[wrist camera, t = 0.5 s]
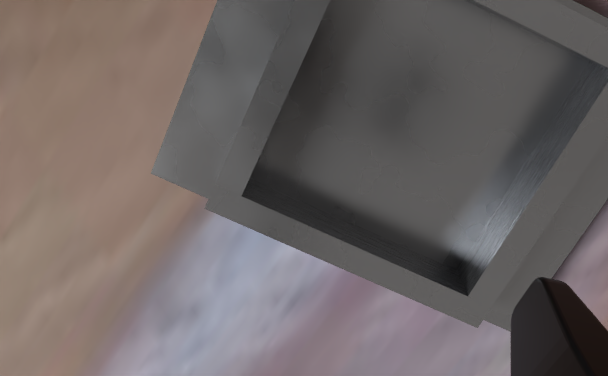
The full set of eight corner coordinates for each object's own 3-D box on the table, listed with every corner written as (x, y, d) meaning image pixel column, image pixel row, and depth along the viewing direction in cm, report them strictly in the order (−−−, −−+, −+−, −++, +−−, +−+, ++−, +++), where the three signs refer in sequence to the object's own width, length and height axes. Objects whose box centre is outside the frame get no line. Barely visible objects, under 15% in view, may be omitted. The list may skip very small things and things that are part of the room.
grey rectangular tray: (506, 319, 25) (528, 363, 22) (158, 165, 23) (133, 191, 20) (684, 62, 21) (739, 75, 18) (278, -146, 19) (269, -167, 16)
